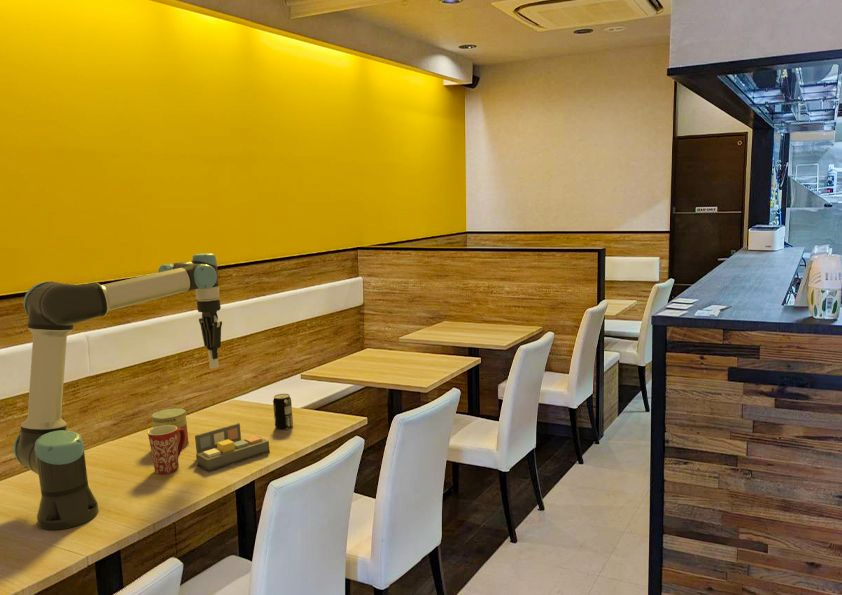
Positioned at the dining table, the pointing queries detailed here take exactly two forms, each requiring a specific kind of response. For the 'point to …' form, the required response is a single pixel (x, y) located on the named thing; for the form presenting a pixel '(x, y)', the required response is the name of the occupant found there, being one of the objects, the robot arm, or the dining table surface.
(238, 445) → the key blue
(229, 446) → the key mustard
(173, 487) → the dining table surface
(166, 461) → the mug
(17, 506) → the dining table surface
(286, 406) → the beverage can
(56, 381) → the robot arm
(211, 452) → the key ivory
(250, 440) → the key terracotta
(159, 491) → the dining table surface
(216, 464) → the frame
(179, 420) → the canned food
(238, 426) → the placard
